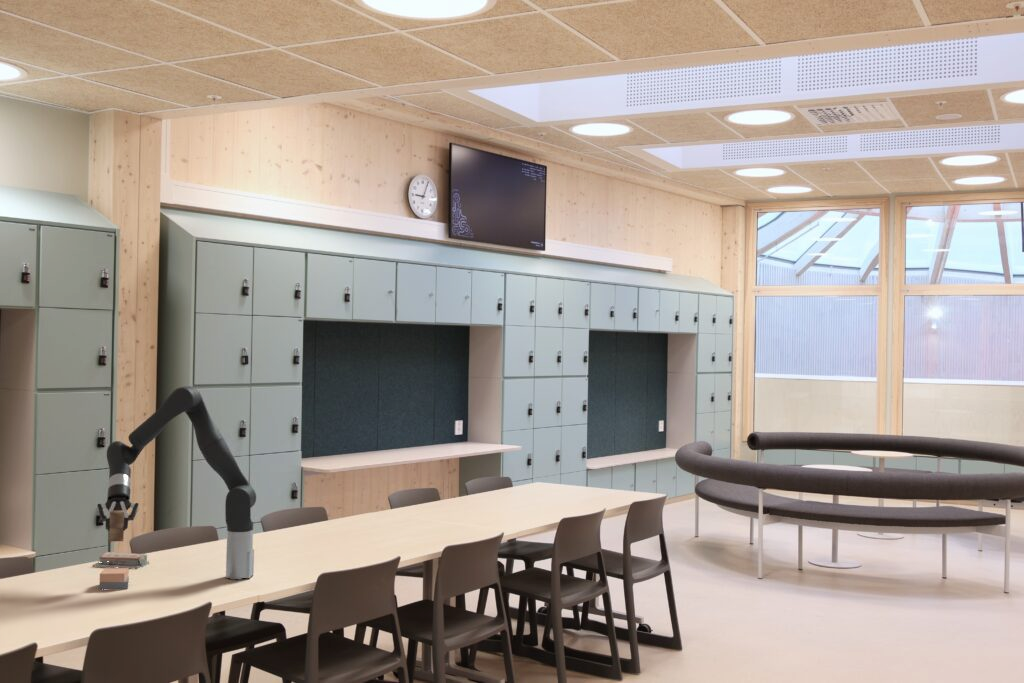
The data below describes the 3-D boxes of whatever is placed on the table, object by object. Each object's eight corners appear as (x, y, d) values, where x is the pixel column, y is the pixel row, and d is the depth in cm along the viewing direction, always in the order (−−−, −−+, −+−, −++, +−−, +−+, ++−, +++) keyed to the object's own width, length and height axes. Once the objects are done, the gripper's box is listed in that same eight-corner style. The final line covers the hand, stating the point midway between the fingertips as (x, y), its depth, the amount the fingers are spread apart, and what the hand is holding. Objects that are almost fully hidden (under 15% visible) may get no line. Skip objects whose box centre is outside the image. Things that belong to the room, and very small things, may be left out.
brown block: (123, 538, 341) (124, 510, 341) (123, 541, 337) (124, 512, 337) (109, 539, 340) (110, 510, 340) (109, 541, 335) (110, 512, 336)
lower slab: (128, 584, 343) (128, 575, 344) (127, 590, 335) (127, 581, 335) (100, 585, 340) (101, 577, 340) (99, 592, 332) (99, 583, 332)
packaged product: (150, 552, 375) (137, 557, 365) (150, 564, 375) (137, 570, 365) (106, 549, 377) (92, 555, 367) (106, 562, 377) (92, 568, 367)
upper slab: (128, 576, 342) (128, 568, 342) (124, 582, 335) (124, 573, 335) (104, 577, 341) (104, 568, 341) (99, 582, 333) (99, 573, 333)
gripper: (97, 483, 343) (93, 523, 332) (140, 482, 348) (138, 522, 336) (97, 496, 348) (94, 536, 337) (140, 495, 353) (138, 534, 341)
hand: (116, 529), depth 337 cm, fingers closed on brown block, 4 cm apart
